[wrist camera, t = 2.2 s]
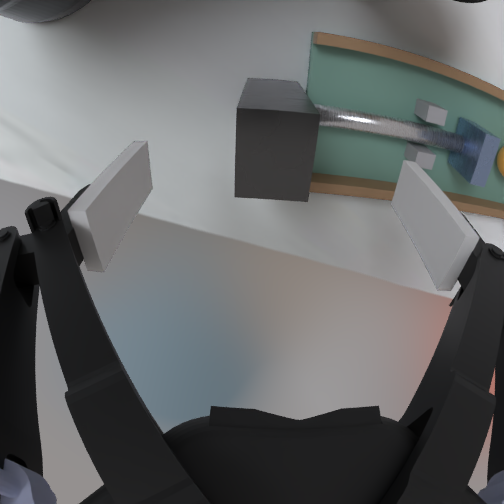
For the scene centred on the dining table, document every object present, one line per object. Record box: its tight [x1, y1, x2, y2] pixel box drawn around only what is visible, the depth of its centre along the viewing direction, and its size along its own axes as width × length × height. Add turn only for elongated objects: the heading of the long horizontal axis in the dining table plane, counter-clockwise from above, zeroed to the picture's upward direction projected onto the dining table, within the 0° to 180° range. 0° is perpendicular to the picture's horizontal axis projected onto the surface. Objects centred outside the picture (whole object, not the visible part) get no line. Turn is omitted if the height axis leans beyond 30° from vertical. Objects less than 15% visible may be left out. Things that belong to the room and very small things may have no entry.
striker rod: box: [235, 78, 501, 202], centre depth 19 cm, size 5×22×11 cm, turn 87°
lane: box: [306, 32, 504, 219], centre depth 23 cm, size 14×28×4 cm, turn 87°
